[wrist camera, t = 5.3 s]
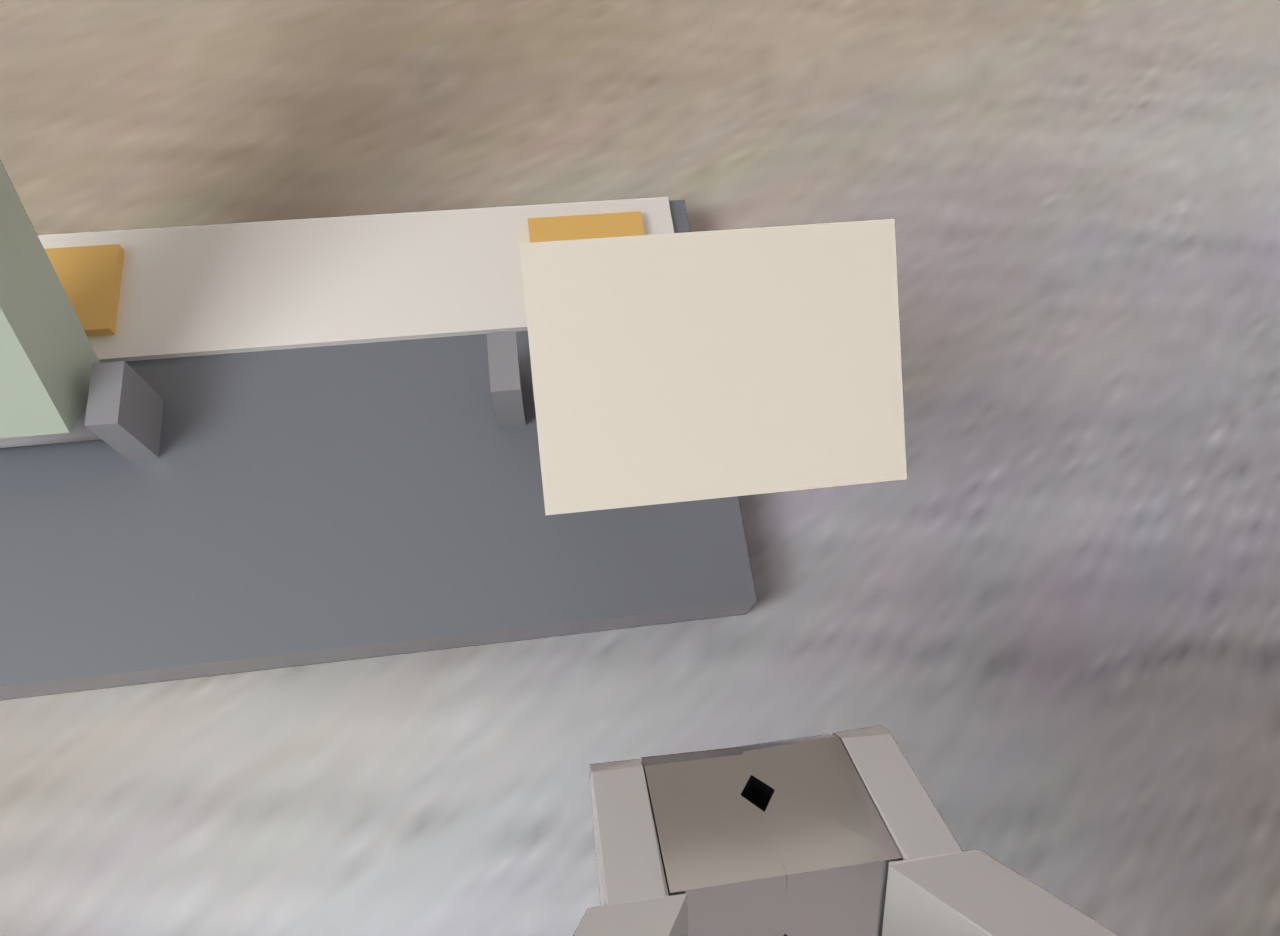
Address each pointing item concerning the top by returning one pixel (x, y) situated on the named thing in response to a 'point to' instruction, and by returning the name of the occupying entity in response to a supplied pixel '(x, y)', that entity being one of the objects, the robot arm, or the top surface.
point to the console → (323, 459)
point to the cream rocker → (714, 363)
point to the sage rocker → (37, 340)
